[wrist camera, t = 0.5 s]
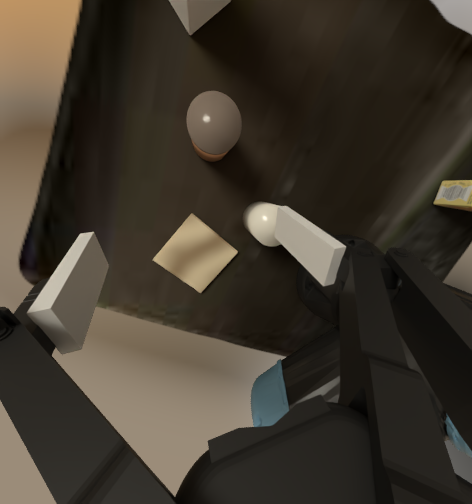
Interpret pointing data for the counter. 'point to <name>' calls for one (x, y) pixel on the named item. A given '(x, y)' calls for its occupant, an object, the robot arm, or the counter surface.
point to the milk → (197, 11)
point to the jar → (213, 125)
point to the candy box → (455, 195)
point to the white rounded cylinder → (262, 222)
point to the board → (195, 253)
